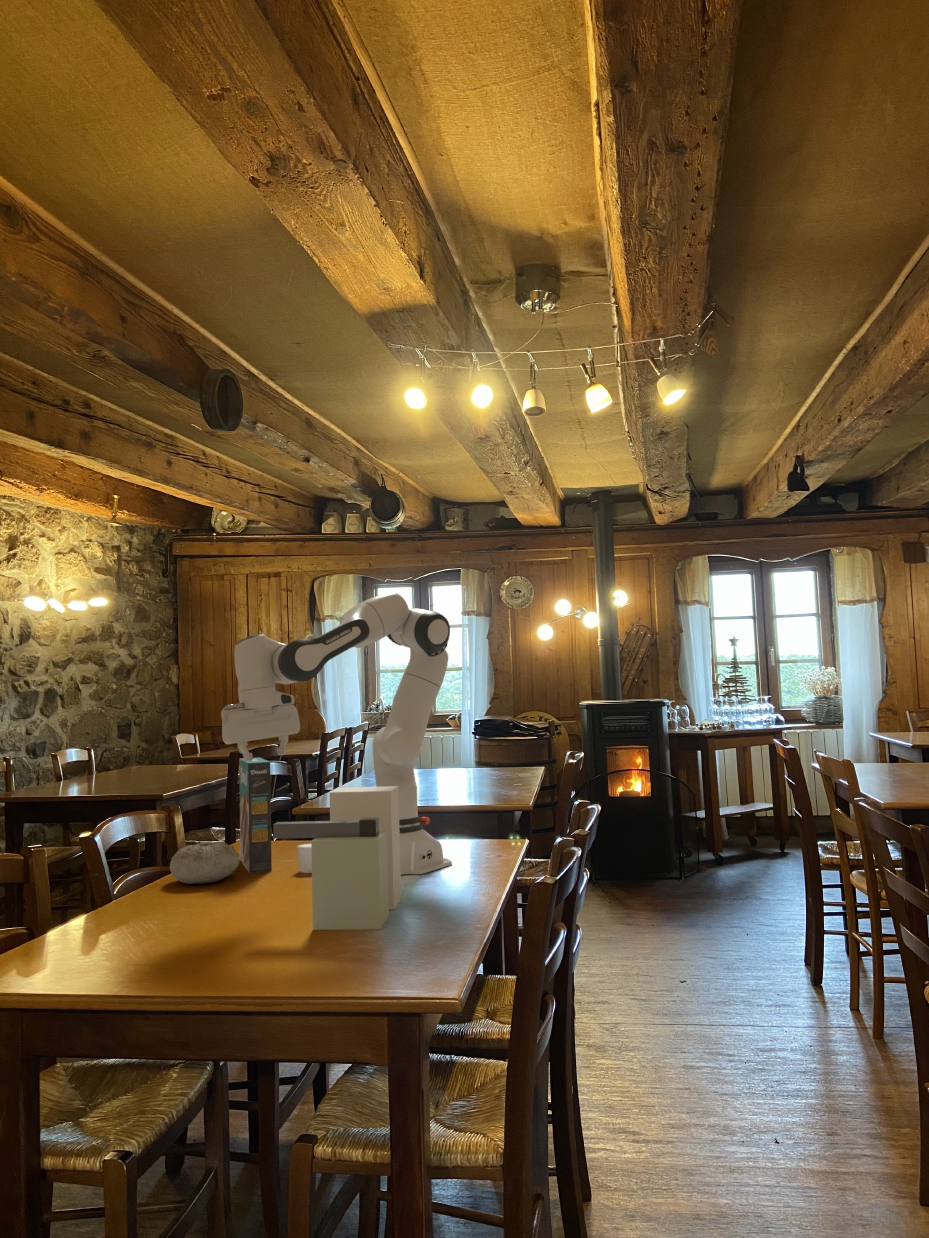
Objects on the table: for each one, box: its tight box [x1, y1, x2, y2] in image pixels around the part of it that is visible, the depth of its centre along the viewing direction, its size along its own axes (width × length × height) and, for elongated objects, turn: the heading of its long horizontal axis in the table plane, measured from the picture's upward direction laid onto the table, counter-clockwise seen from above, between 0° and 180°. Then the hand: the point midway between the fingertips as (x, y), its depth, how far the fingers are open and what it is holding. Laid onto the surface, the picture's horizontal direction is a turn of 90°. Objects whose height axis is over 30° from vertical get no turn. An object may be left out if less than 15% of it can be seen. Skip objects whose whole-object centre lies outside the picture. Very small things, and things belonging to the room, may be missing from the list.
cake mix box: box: [238, 757, 273, 874], centre depth 253 cm, size 22×6×30 cm, turn 21°
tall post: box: [329, 786, 402, 911], centre depth 201 cm, size 14×10×26 cm
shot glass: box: [296, 842, 312, 874], centre depth 241 cm, size 7×7×7 cm
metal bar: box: [272, 817, 379, 840], centre depth 186 cm, size 22×4×4 cm, turn 85°
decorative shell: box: [169, 841, 241, 885], centre depth 232 cm, size 18×18×10 cm
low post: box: [311, 832, 390, 931], centre depth 184 cm, size 14×10×18 cm
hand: (265, 757), depth 212 cm, fingers open, 8 cm apart
